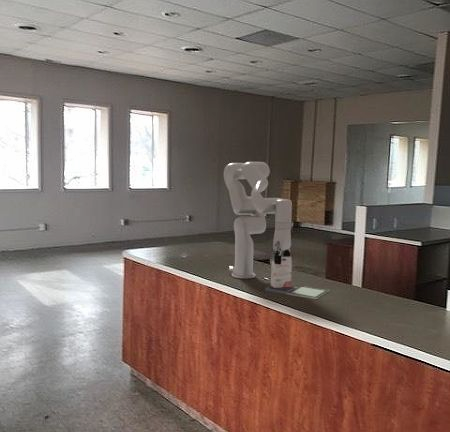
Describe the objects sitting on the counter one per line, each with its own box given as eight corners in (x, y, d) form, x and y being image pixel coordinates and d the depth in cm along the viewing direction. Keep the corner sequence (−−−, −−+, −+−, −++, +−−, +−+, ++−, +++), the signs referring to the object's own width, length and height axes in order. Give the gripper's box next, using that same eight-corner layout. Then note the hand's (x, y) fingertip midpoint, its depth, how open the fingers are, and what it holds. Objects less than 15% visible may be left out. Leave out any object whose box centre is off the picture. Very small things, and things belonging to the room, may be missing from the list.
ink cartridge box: (286, 284, 233) (288, 254, 231) (290, 287, 228) (292, 256, 226) (270, 284, 231) (271, 254, 228) (273, 288, 226) (275, 257, 224)
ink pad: (265, 290, 228) (265, 286, 228) (274, 286, 237) (274, 282, 237) (286, 294, 223) (286, 290, 222) (295, 289, 231) (295, 286, 231)
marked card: (286, 294, 223) (286, 292, 222) (301, 286, 237) (301, 285, 237) (315, 299, 215) (315, 298, 215) (329, 291, 230) (329, 289, 230)
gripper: (283, 223, 235) (282, 258, 237) (267, 227, 221) (266, 264, 222) (298, 224, 231) (297, 260, 233) (282, 228, 217) (281, 266, 218)
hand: (282, 262), depth 228 cm, fingers closed on ink cartridge box, 9 cm apart
